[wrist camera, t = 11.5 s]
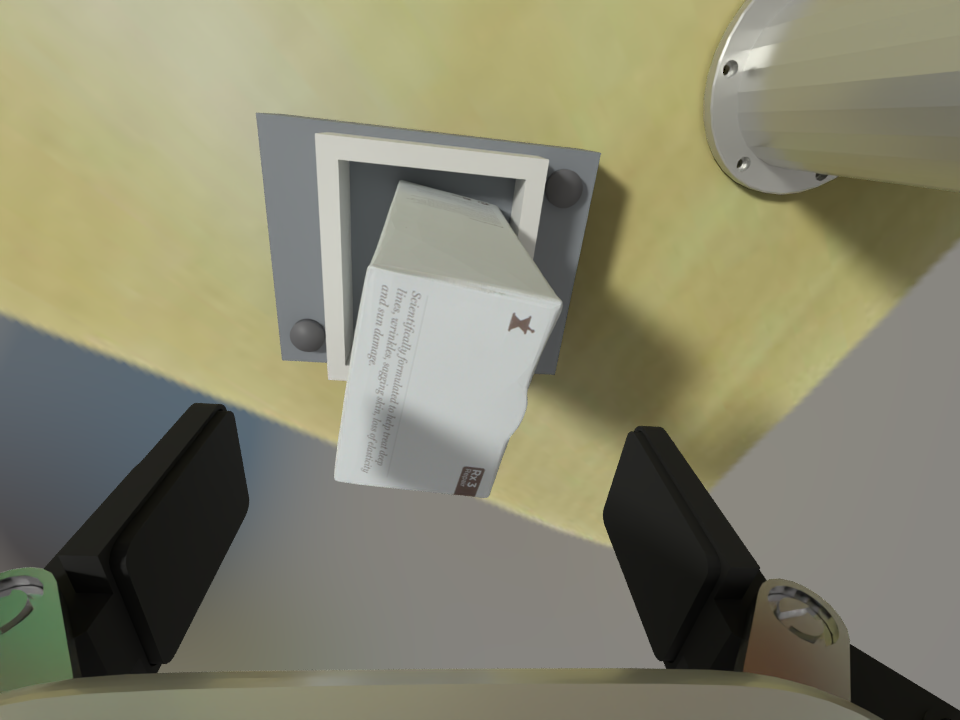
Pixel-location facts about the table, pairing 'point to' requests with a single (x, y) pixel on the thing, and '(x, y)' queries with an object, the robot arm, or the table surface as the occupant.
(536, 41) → the table surface
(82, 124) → the table surface
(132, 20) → the table surface
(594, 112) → the table surface
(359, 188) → the grey box holder
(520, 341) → the skincare box
